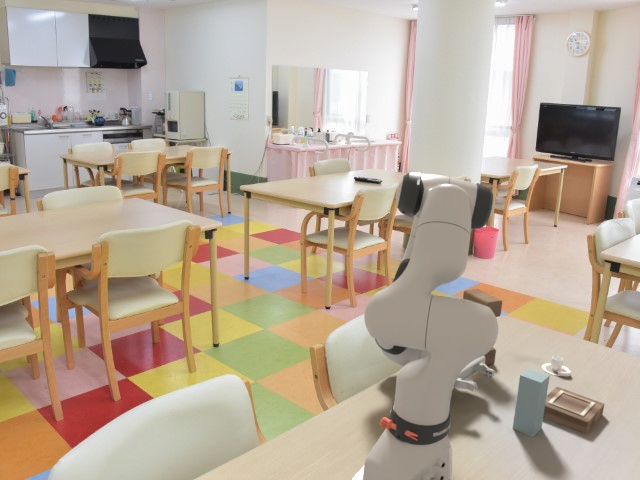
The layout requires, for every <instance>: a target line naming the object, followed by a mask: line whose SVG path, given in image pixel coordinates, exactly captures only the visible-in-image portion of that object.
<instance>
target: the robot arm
mask: <svg viewBox="0 0 640 480" xmlns="http://www.w3.org/2000/svg"><path fill="white" fill-rule="evenodd" d="M494 201H495V200H494V193H493V191H492V190H491V188H490V187H488V186H487V185H484V184H482V183H478V182H477V183H474V182H471V181H468V180H465V179H461V178H455V177H451V176H449V175H443V174H436V173H422V172H421V171H411V172H407V173H406V174H404V175H403V178H401V180H400V181H399V183H398V185H397V188H396V191H395V202H396V205H397V207H396V208H397V209H398V211H399V212H400V213H401V214H402V215H405V216H406V217H409V218H411V219H412V218H413V217H414V218H413V221H412V225H411V230H410V234H409V237H408V241H407V245H406V248H405V251H404V254H403V257H402V258H401V262H400V264H399V266H398V268H397V271H396V272H395V275H394V278H393V281H392V283H391V284H390V285H388V286H386V287H384V288H383V289H380V290H378V291H376V293H374V294H373V295H372V296H371V297H370V299H369V300H368V301H367V304H366V306H365V308H364V309H365V310H364V317H363V318H364V324H365V327H366V331H367V332H368V333H369V335H370V337H371V338H373V339H374V341H375V342H376V345H378V347H379V348H380V350H381V351H382V353H383V355H384V356H385V357H386V358H387V359H389V360H390V361H391V362H393V363H396V364H397V365H400V366H402V367H401V368H400V370H398V373H397V375H396V379H395V380H396V381H395V393H394V403H393V404H392V406H391V410H390V411H389V417H386V416H384V417H382V418H381V420H380V424H379V425H380V427H382V428H384V430H383V432H382V433H381V435H380V436H379V437H378V439H377V441H376V442H375V444H374V445H373V447H372V448H371V449H370V451H369V453H368V454H367V456H366V459H365V462H364V464H363V466H362V467H361V468H360V469H359V470H358V472H357V473H356V474H355V475H354V476H353V477H352V479H351V480H454V479H453V448H452V446H451V442H450V439H449V433H450V427H451V422H452V421H451V420H452V419H451V412H450V407H451V399H452V396H453V395H452V394H453V390H454V389H455V388H457V389H460V390H461V389H462V390H463V389H464V390H469V391H472V392H474V391H475V390H476V389H477V386H478V384H477V382H476V381H474V380H473V381H472V380H469V378H471V377H473V376H474V375H476V374H477V373H478V372H479V373H482V374H485V377H486V378H490V379H491V378H493V377H494V376H495V370H494V369H492V368H490V367H489V366H486V365H485V356H484V355H485V354H487V353H488V352H489V351H490V350H491V349H492V348H494V346H495V344H496V343H497V339H498V337H499V324H498V322H499V321H498V319H497V317H496V316H495V314H494V313H493V311H492V310H491V309H490V308H489V307H487V306H485V305H482V304H479V303H476V302H473V301H470V300H467V299H463V298H458V297H451V296H443V295H436V294H433V293H432V292H433V291H434V290H435V289H438V288H439V287H440V286H443V285H446V284H449V283H452V282H454V281H455V280H458V279H459V278H460V277H462V275H463V274H464V273H465V271H466V269H467V263H468V257H469V256H468V255H469V249H470V242H471V234H472V230H478V229H481V228H483V227H485V226H486V225H487V224H488V222H489V220H490V219H491V218H492V216H493V213H494V209H495V202H494Z"/></svg>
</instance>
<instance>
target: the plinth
mask: <svg viewBox="0 0 640 480" xmlns="http://www.w3.org/2000/svg"><path fill="white" fill-rule="evenodd" d="M604 408H605V403H603V402H601V401H598V400H594V399H592V398H589V397H587V396H584V395H581V394H578V393H575V392H572V391H570V390H567V389H565V388H562V387H559V386H556V387H555V388H554V389H553V390H551V391H550V392H549V393H547V397H546V403H545V409H544V416H543V418H546V419H549V420H550V421H554V422H556V423H559V424H561V425H564V426H566V427H568V428H571V429H573V430H576V431H578V432H581V433H583V434H586V435H587V433H588V432H589V431H590V430H591V428H592V427H593V426H594V425H595V424H596V423H597V422H598V421H599V419H600V418H601V417H602V416H603V415H604Z"/></svg>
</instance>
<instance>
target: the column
mask: <svg viewBox="0 0 640 480" xmlns="http://www.w3.org/2000/svg"><path fill="white" fill-rule="evenodd" d="M550 376H551V374H548V373H544V372H542V371H538V370H536V369H532V368H529V367H528V368H527V369H526V370H524V372H522V373H521V374H520V375H519V381H518V382H519V383H518V388H517V394H516V403H515V408H514V417H513V423H512V424H513V425H512V429H514V430H516V431H518V432H521V433H523V434H526V435H528V436H530V437H532V438H533V437H535V436H536V434H537V433H539V431H540V430H542V429H543V421H544V417H543V416H544V409H545V403H546V397H547V395H548V390H549V383H550V382H549V381H550V378H551V377H550Z"/></svg>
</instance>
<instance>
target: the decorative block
mask: <svg viewBox="0 0 640 480" xmlns="http://www.w3.org/2000/svg"><path fill="white" fill-rule="evenodd" d="M462 295H463V297H462V299H467V300H470V301H473V302H476V303H479V304H482V305H485V306H487V307H489V308H490V309H491V310H492V311H493V313H494V314H495V316H496V318H498V317H500V316H501V314H502V306H503V300H501V299H499V298H497V297H496V296H494V295H491V294H489V293H487V292H484V291H482V290H481V289H478V288H474V289H468V290H464V291H463V294H462ZM496 353H497V349H495V347H493V348H492V349H491V350H490V351H489V352H488V353H487V354H485V355H484V356H485V365H486V366H487V367H489V366H492V365H495V361H496Z"/></svg>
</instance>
